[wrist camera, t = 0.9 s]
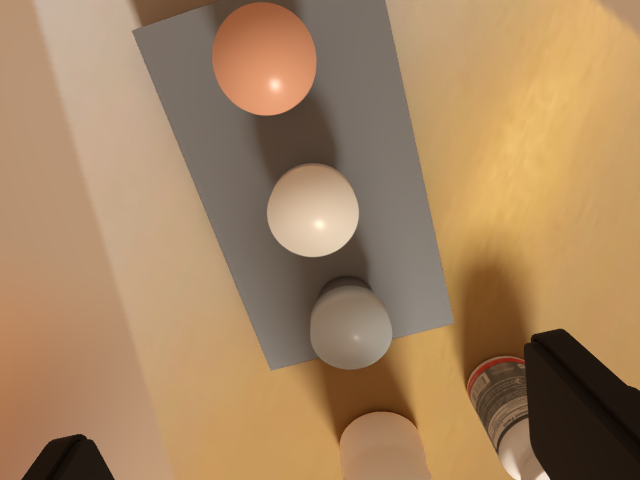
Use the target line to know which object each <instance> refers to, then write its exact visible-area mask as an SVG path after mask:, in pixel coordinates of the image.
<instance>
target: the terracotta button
mask: <svg viewBox="0 0 640 480" xmlns="http://www.w3.org/2000/svg"><path fill="white" fill-rule="evenodd" d="M212 63H213V69H214V73H215V76H216V79H217V81H218V84H219V85H220V87H221V89H222V91H223V92H224V93H225V95H226V96H227V97H228V98H229V99H230V100H231V101H232V102H233V103H234V104H236V105H237V106H238V107H240V108H241V109H243V110H245V111H247V112H250V113H253V114H257V115H276V114H280V113H283V112H286V111H288V110H290V109H291V108H293V107H294V106H296V105H297V104H298V103H300V102H301V101H302V100H303V99H304V97H305V96H306V95H307V94H308V92H309V90H310V88H311V86H312V84H313V81H314V78H315V74H316V51H315V46H314V43H313V40H312V37H311V35H310V33H309V31H308V29H307V28H306V26H305V25H304V23H303V22H302V21H301V20H300V19H299V18H298V17H297V16H296V15H295V14H294V13H292V12H291V11H289V10H288V9H286V8H284V7H282V6H279V5H277V4H273V3H268V2H257V3H251V4H247V5H245V6H242V7H240V8H238V9H237V10H235V11H234V12H232V13H231V14H230V15H229V16H228V17H227V18H226V19H225V20H224V22H223V23H222V25H221V26H220V28H219V30H218V32H217V34H216V37H215V40H214V44H213V50H212Z"/></svg>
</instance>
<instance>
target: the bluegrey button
mask: <svg viewBox="0 0 640 480" xmlns="http://www.w3.org/2000/svg"><path fill="white" fill-rule="evenodd" d="M310 339H311V344H312V347H313V349H314V351H315V353H316V354H317V355H318V356H319V358H321V359H322V360H323V361H324V362H326V363H327V364H329V365H331V366H333V367H336V368H340V369H346V370H353V369H360V368H364V367H367V366H369V365H372V364H373V363H375V362H376V361H378V360H379V359H380V358H381V357H382V356H383V355H384V354H385V353H386V352H387V350H388V348H389V346H390V344H391V340H392V326H391V323H390V319H389V316H388V313H387V310H386V307H385V305H384V303H383V301H382V300H381V299H380V298H379V297H378V296H377V295H376V294H375V293H374V292H372V291H370V290H369V289H366V288H364V287H360V286H355V285H346V286H340V287H337V288H334V289H332V290H329V291H328V292H326V293H325V294H324V295H322V296H321V297H320V298H319V299H318V301H317V302H316V303H315V305H314V307H313V309H312V312H311V324H310Z"/></svg>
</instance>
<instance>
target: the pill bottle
mask: <svg viewBox="0 0 640 480" xmlns="http://www.w3.org/2000/svg"><path fill="white" fill-rule="evenodd" d="M467 392H468V396H469V399H470V401H471V403H472V405H473V407H474V409H475V411H476V413H477V415H478V417H479V420H480V421H481V423H482V425H483V427H484V429H485V431H486V433H487V435H488V437H489V439H490V441H491V443H492V445H493V447H494V449H495V451H496V453H497V455H498V457H499V460H500V461H501V463H502V465H503V467H504V468H505V470H506V471H507V472H508V473H509V474H510V475H511V476H512V477H513V478H514V479H516V480H550V479H549V477H548V475H547V474H546V472H545V471H544V469H543V468H542V466H541V465H540V463H539V462H538V460H537V458H536V457H535V454H534V452H533V450H532V447H531V443H530V435H529V419H528V404H527V388H526V373H525V361H524V360H522V359H520V358H517V357H513V356H498V357H494V358H491V359H489V360H486V361H485V362H483V363H481V364H480V365H479V366H478V367H477V368H476V369H475V370H474V371H473V372H472V374H471V375H470V378H469V380H468V385H467Z"/></svg>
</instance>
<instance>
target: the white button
mask: <svg viewBox="0 0 640 480" xmlns="http://www.w3.org/2000/svg"><path fill="white" fill-rule="evenodd" d="M267 219H268V224H269V227H270V229H271V232H272V234H273V235H274V237H275V238H276V239H277V241H278V242H279V243H280V244H281V245H282V246H283V247H285V248H286V249H287V250H289V251H291V252H293V253H295V254H298V255H301V256H307V257H320V256H325V255H328V254H331V253H333V252H335V251H337V250H339V249H340V248H341V247H343V246H344V245H345V244H346V243H347V242H348V241H349V240H350V238H351V237H352V235H353V234H354V232H355V230H356V227H357V224H358V219H359V207H358V202H357V199H356V196H355V194H354V191H353V188H352V186H351V184H350V183H349V181H348V180H347V179H346V178H345V176H344V175H343V174H341V173H340V172H339V171H338V170H336V169H334V168H332V167H330V166H328V165H324V164H320V163H306V164H302V165H298V166H296V167H294V168H292V169H290V170H289V171H287V172H286V173H285V174H284V175H282V176H281V178H280V179H279V180H278V181H277V183H276V185H275V187H274V189H273V191H272V194H271V196H270V198H269V202H268V207H267Z"/></svg>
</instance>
